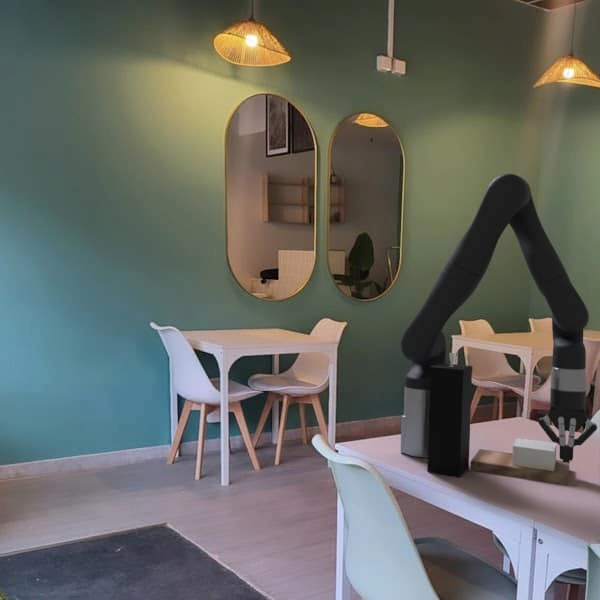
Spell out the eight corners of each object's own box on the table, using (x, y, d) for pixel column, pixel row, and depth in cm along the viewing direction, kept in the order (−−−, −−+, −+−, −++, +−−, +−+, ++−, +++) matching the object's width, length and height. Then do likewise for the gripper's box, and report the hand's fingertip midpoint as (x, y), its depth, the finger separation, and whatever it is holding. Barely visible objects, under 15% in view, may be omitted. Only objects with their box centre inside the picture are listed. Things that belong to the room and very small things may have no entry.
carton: (512, 465, 139) (512, 446, 139) (516, 456, 146) (516, 438, 146) (554, 471, 135) (554, 451, 135) (555, 461, 142) (556, 443, 142)
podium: (470, 469, 141) (470, 461, 141) (479, 456, 152) (479, 448, 152) (567, 484, 132) (567, 475, 132) (569, 469, 143) (569, 461, 143)
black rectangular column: (469, 469, 142) (473, 352, 141) (460, 478, 135) (464, 355, 134) (437, 463, 146) (440, 349, 145) (426, 471, 139) (430, 352, 138)
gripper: (536, 387, 137) (534, 461, 137) (600, 392, 131) (598, 470, 131) (538, 382, 143) (537, 453, 144) (600, 387, 138) (598, 461, 138)
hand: (566, 461), depth 138 cm, fingers closed
